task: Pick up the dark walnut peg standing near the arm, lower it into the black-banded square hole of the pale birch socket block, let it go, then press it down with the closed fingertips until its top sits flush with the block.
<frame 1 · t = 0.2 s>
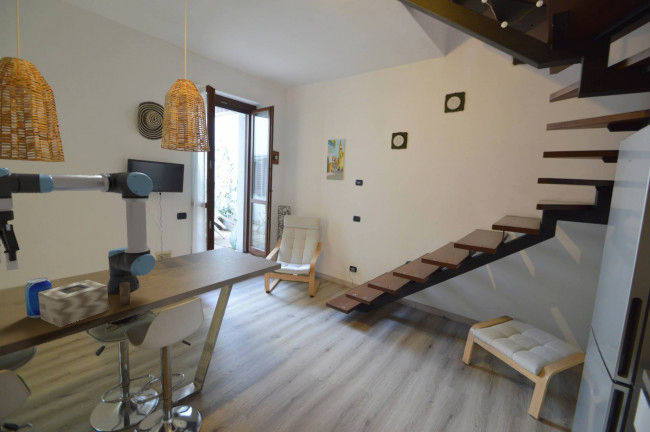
hand: (4, 266, 105), 28 cm above the table, fingers open, 13 cm apart
socket: (76, 314, 127), on the table
peg: (125, 304, 138), on the table
beer can: (40, 314, 126), on the table
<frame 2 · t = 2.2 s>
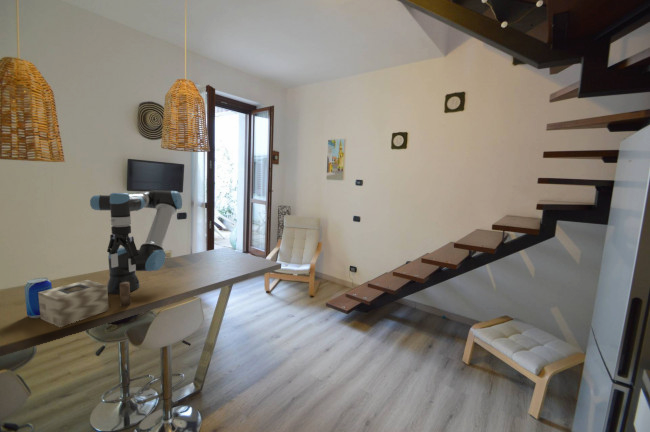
hand: (123, 269, 136), 18 cm above the table, fingers open, 13 cm apart
nothing on the table moved.
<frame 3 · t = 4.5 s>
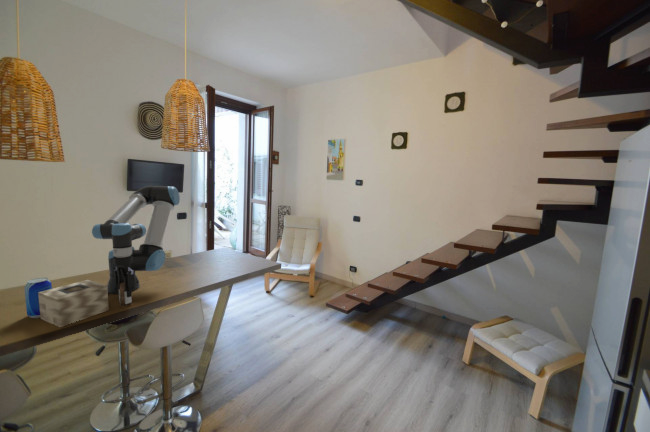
hand: (125, 302, 138), 1 cm above the table, fingers closed on peg, 4 cm apart
peg: (125, 304, 138), on the table, touching gripper
everything else where it was.
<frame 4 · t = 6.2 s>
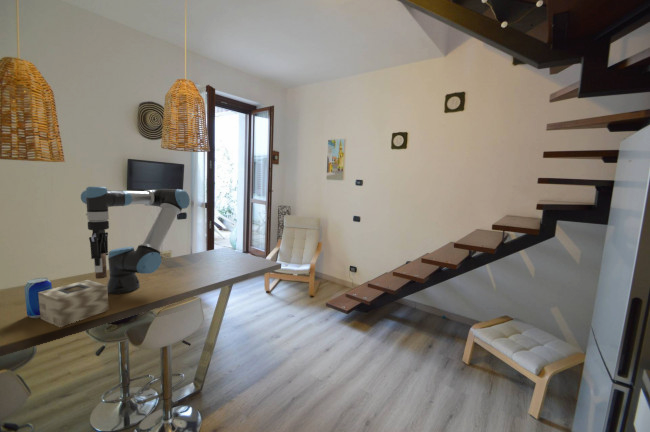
hand: (100, 270, 130), 19 cm above the table, fingers closed on peg, 3 cm apart
peg: (101, 277, 131), point 16 cm above the table, touching gripper
everything else where it was.
when the fingers open (13 cm above the table, at t = 8.0 s): peg drops 3 cm, resting on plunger.
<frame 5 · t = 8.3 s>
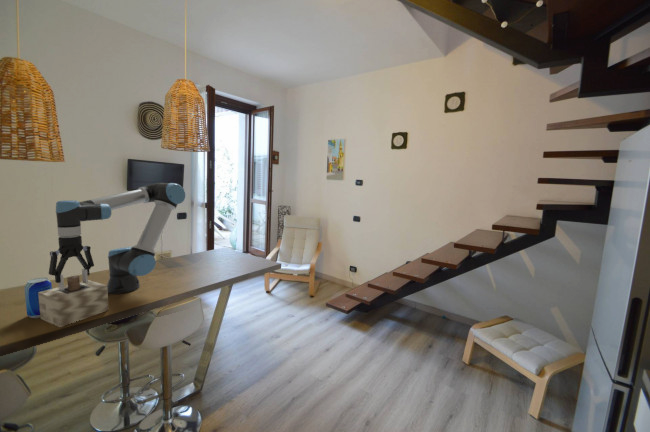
hand: (73, 286, 126), 13 cm above the table, fingers open, 8 cm apart
peg: (75, 300, 127), point 6 cm above the table, touching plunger
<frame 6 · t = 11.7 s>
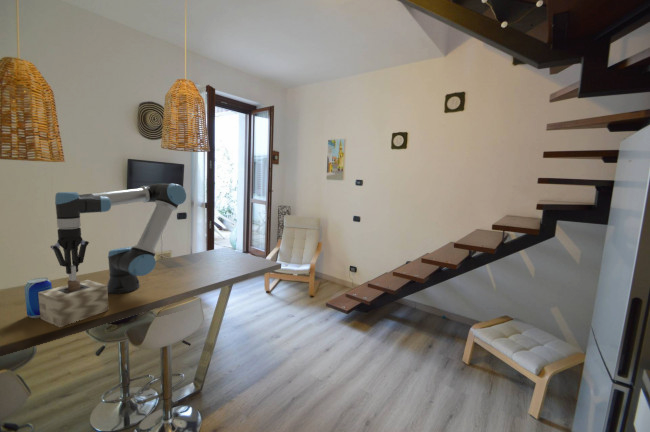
hand: (72, 280, 125), 16 cm above the table, fingers closed
peg: (75, 304, 127), point 5 cm above the table, touching gripper, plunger
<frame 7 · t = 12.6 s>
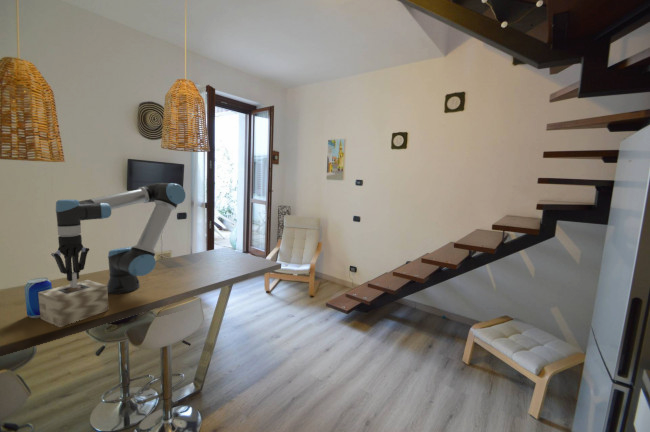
hand: (73, 287, 126), 13 cm above the table, fingers closed
peg: (75, 311, 127), point 2 cm above the table, touching gripper, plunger
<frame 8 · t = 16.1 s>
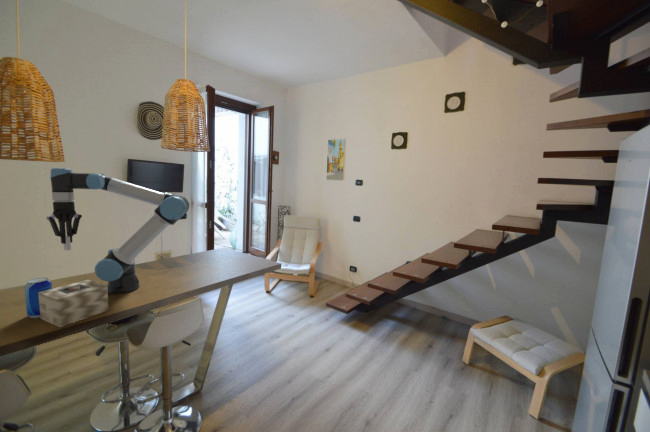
hand: (67, 249, 136), 26 cm above the table, fingers closed
peg: (75, 311, 127), point 1 cm above the table, touching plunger
everything else where it was.
at the end: peg 0.0 cm off-centre on the socket, point 1.4 cm above the socket's base; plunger slide at 5.6 cm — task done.
